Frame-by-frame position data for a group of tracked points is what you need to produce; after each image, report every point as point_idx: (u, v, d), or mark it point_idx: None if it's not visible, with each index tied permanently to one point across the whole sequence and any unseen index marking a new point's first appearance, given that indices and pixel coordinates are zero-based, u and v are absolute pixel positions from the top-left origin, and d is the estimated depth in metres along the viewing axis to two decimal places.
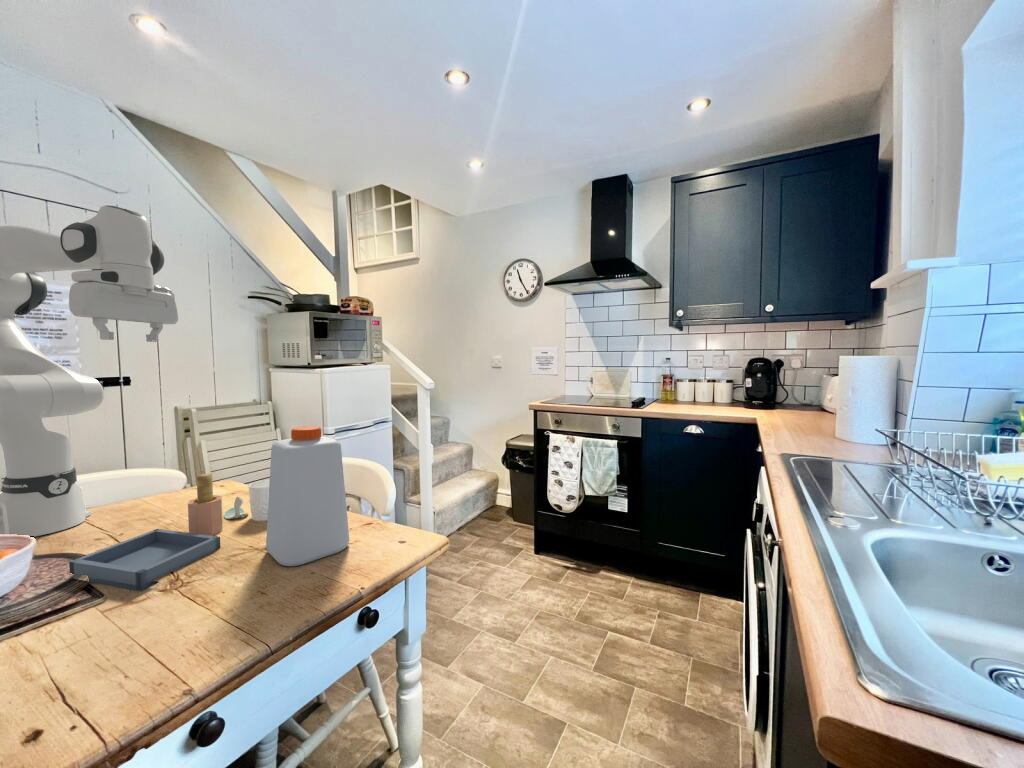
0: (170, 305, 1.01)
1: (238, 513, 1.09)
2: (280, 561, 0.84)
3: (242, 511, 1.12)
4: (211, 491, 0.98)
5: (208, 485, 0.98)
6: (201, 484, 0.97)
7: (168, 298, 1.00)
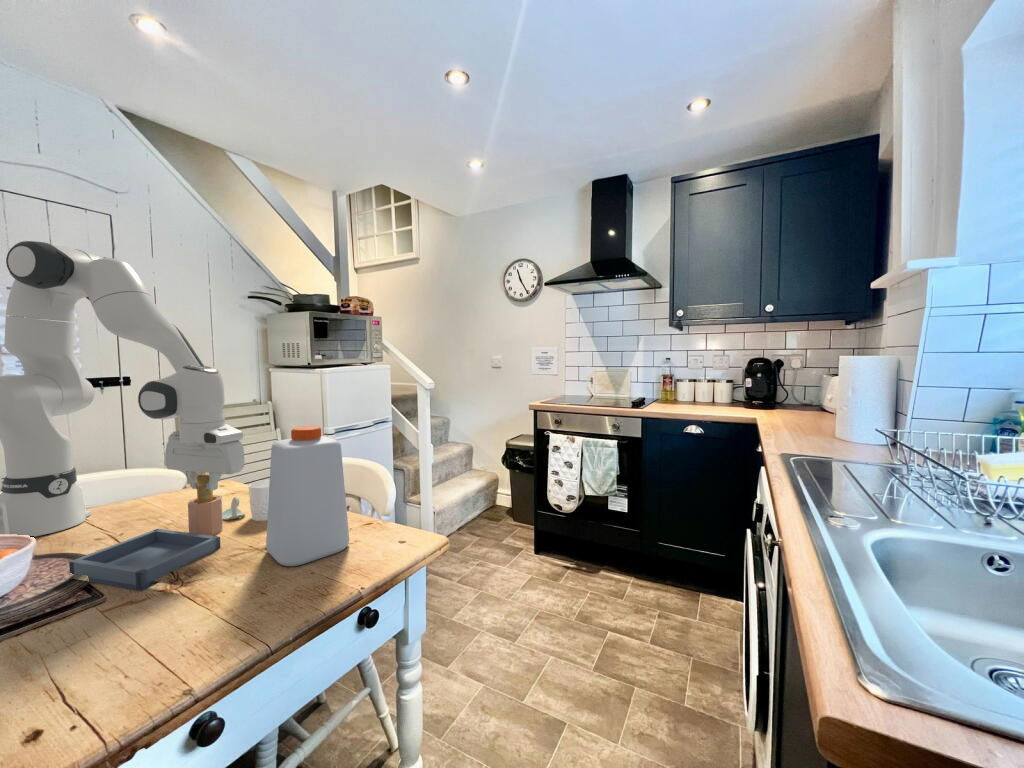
0: None
1: (235, 514, 1.08)
2: (280, 561, 0.84)
3: (239, 512, 1.11)
4: (211, 491, 0.98)
5: None
6: (200, 484, 0.97)
7: None
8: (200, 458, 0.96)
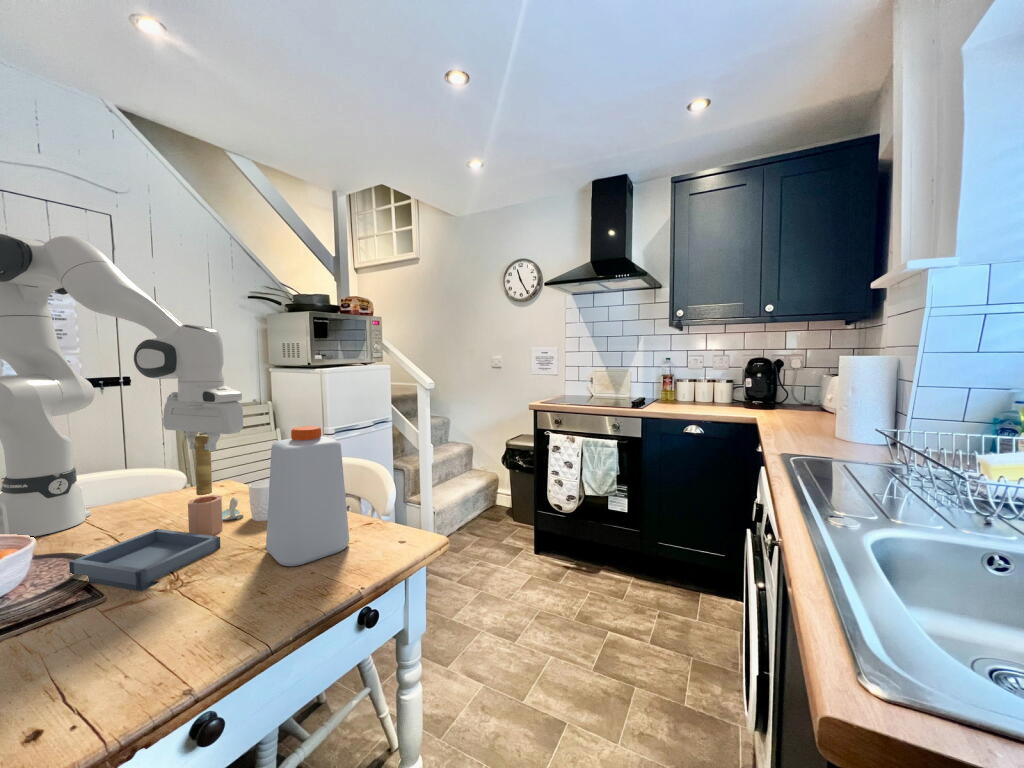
0: None
1: (233, 514, 1.08)
2: (280, 561, 0.84)
3: (237, 512, 1.11)
4: (209, 452, 0.98)
5: None
6: (199, 445, 0.96)
7: None
8: (199, 418, 0.95)
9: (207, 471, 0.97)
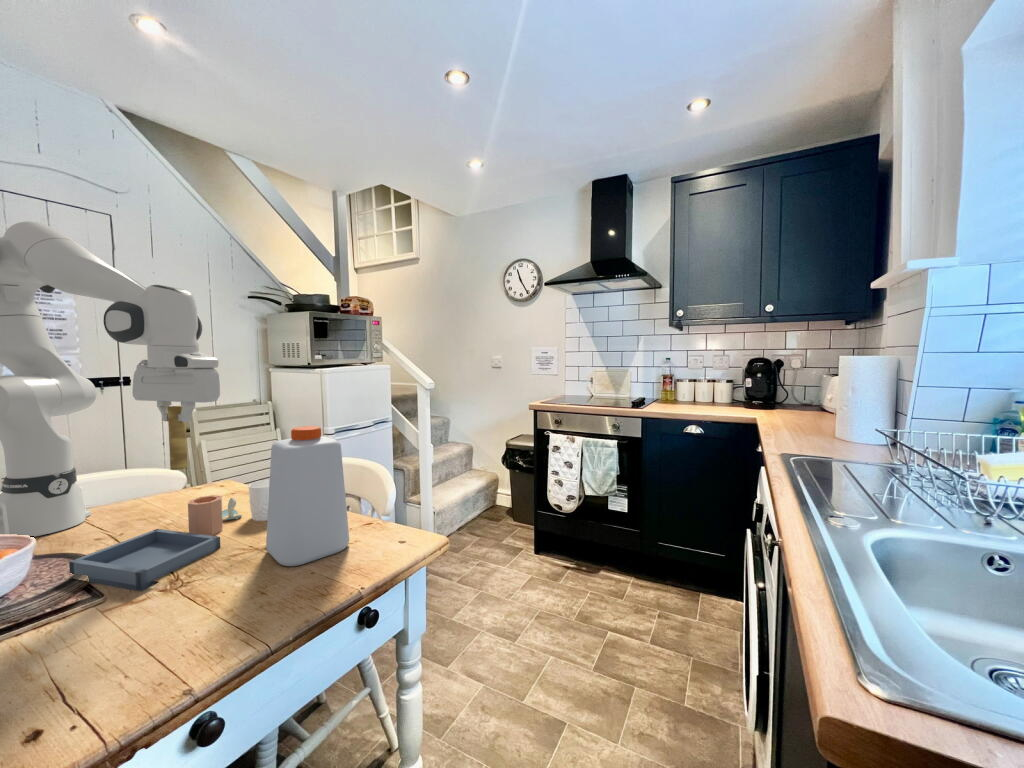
0: None
1: (232, 515, 1.08)
2: (280, 561, 0.84)
3: (236, 513, 1.11)
4: (184, 424, 0.91)
5: None
6: (172, 415, 0.89)
7: None
8: (171, 386, 0.88)
9: (182, 444, 0.90)
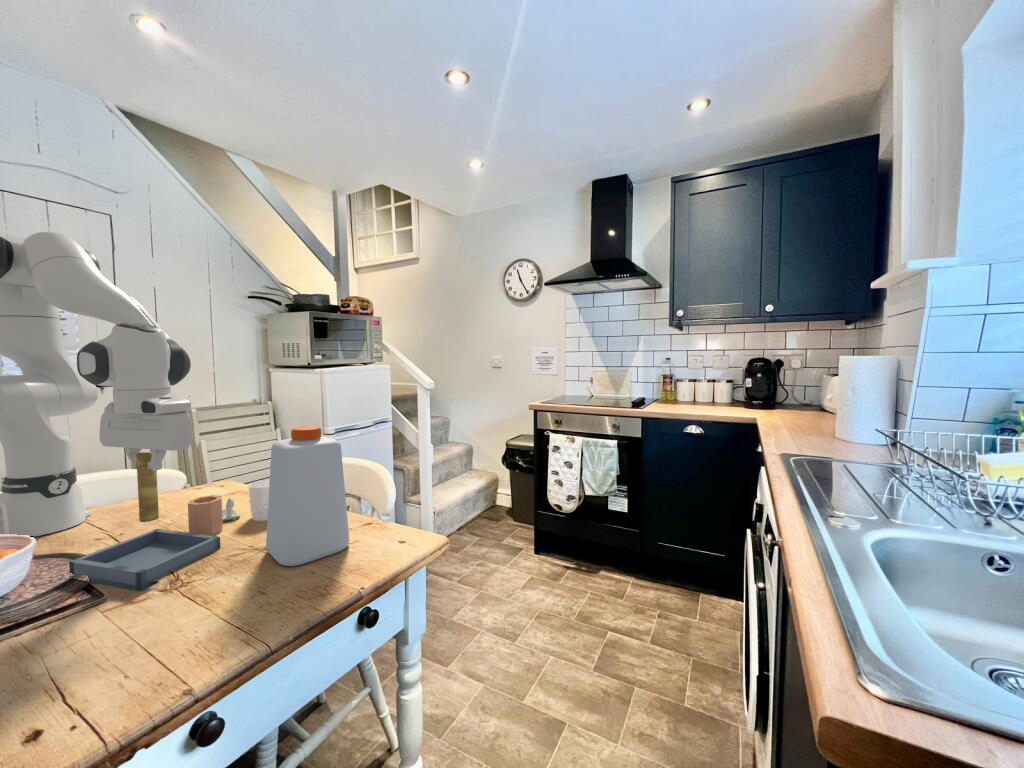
0: None
1: (230, 515, 1.07)
2: (280, 561, 0.84)
3: (234, 513, 1.10)
4: (154, 471, 0.84)
5: None
6: (141, 463, 0.82)
7: None
8: (139, 432, 0.81)
9: (152, 494, 0.83)
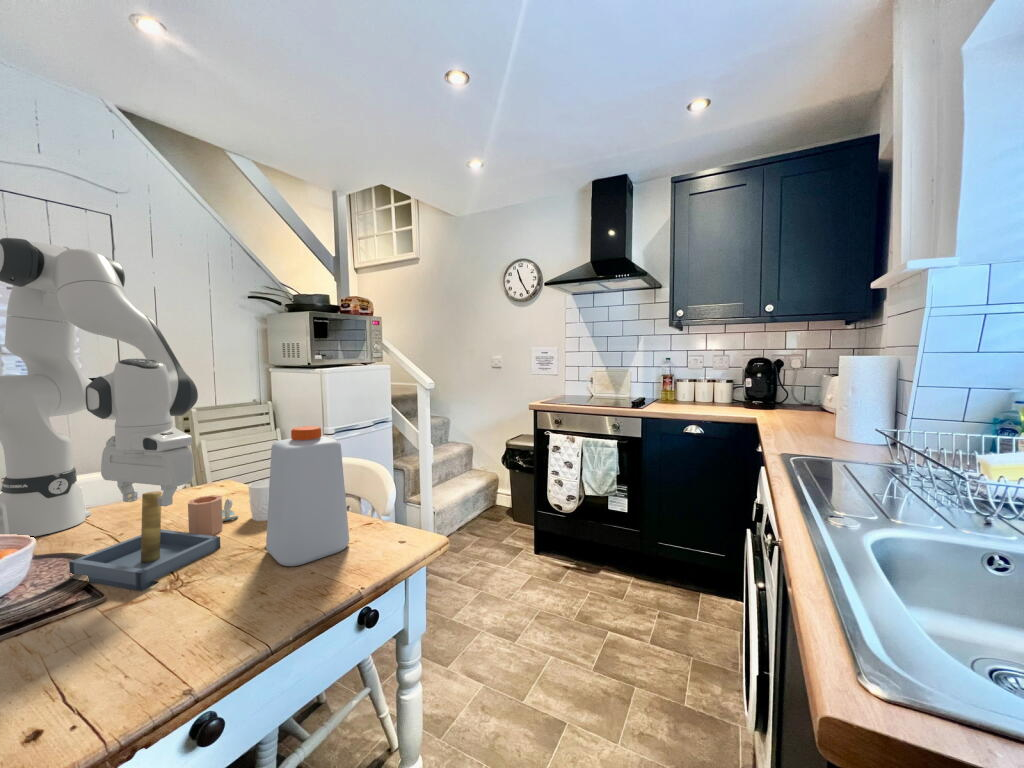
0: None
1: (228, 515, 1.07)
2: (280, 561, 0.84)
3: (232, 513, 1.10)
4: (159, 512, 0.85)
5: (155, 505, 0.84)
6: (146, 504, 0.83)
7: None
8: (140, 467, 0.82)
9: (155, 534, 0.84)
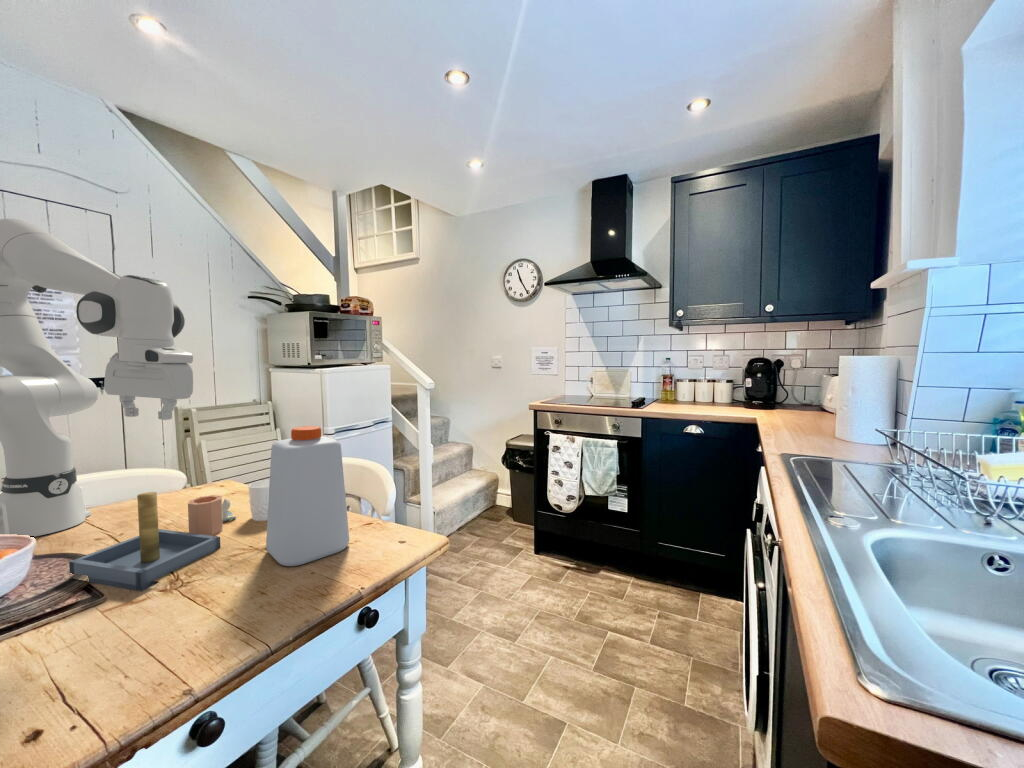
0: None
1: (226, 516, 1.07)
2: (280, 561, 0.84)
3: (230, 514, 1.10)
4: (155, 512, 0.85)
5: (151, 505, 0.84)
6: (142, 505, 0.83)
7: None
8: (142, 381, 0.84)
9: (153, 534, 0.84)
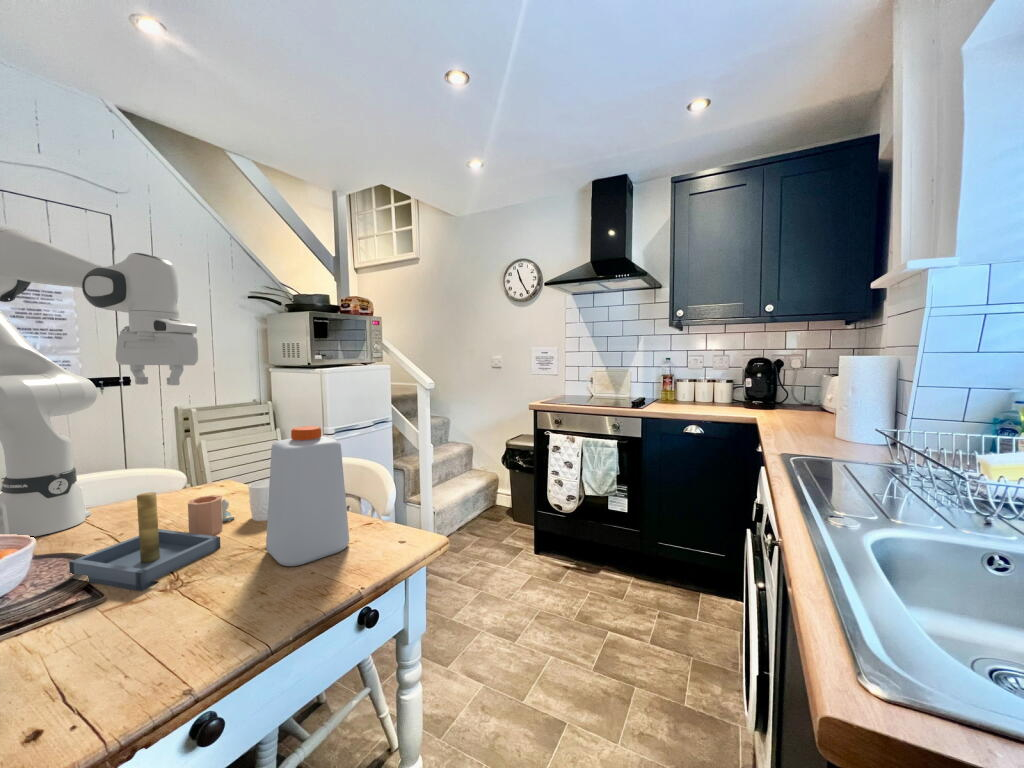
0: None
1: (224, 516, 1.06)
2: (280, 561, 0.84)
3: (229, 514, 1.09)
4: (155, 513, 0.84)
5: (151, 506, 0.83)
6: (141, 505, 0.83)
7: None
8: (151, 350, 0.92)
9: (152, 535, 0.84)
